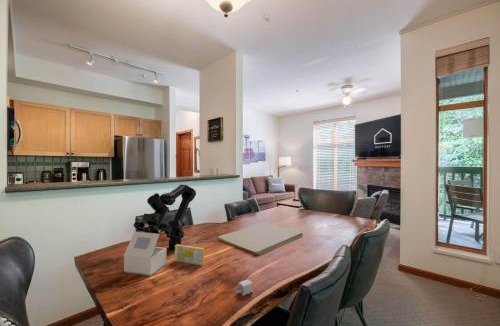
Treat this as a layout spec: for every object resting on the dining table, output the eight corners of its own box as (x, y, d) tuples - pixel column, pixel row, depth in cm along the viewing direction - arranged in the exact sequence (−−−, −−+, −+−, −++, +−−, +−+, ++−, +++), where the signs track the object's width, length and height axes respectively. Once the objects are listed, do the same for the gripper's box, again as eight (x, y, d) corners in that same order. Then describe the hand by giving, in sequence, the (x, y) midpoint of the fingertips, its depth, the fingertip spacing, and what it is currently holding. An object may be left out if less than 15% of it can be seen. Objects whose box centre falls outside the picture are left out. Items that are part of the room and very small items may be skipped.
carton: (142, 260, 117) (142, 245, 117) (166, 264, 114) (166, 248, 114) (124, 272, 106) (124, 255, 106) (150, 276, 103) (150, 258, 102)
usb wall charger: (252, 292, 91) (252, 283, 91) (238, 299, 87) (238, 288, 87) (247, 288, 94) (247, 278, 94) (232, 293, 90) (232, 283, 90)
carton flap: (135, 231, 112) (134, 231, 112) (159, 234, 109) (159, 233, 109) (124, 255, 106) (123, 254, 105) (150, 258, 102) (149, 257, 102)
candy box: (204, 264, 115) (204, 248, 115) (202, 266, 113) (202, 249, 113) (177, 259, 120) (177, 243, 120) (174, 261, 118) (174, 245, 118)
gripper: (135, 205, 116) (118, 234, 105) (168, 207, 112) (154, 237, 101) (146, 217, 124) (131, 244, 113) (177, 219, 119) (164, 248, 109)
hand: (144, 243), depth 109 cm, fingers closed, pressing on carton flap
